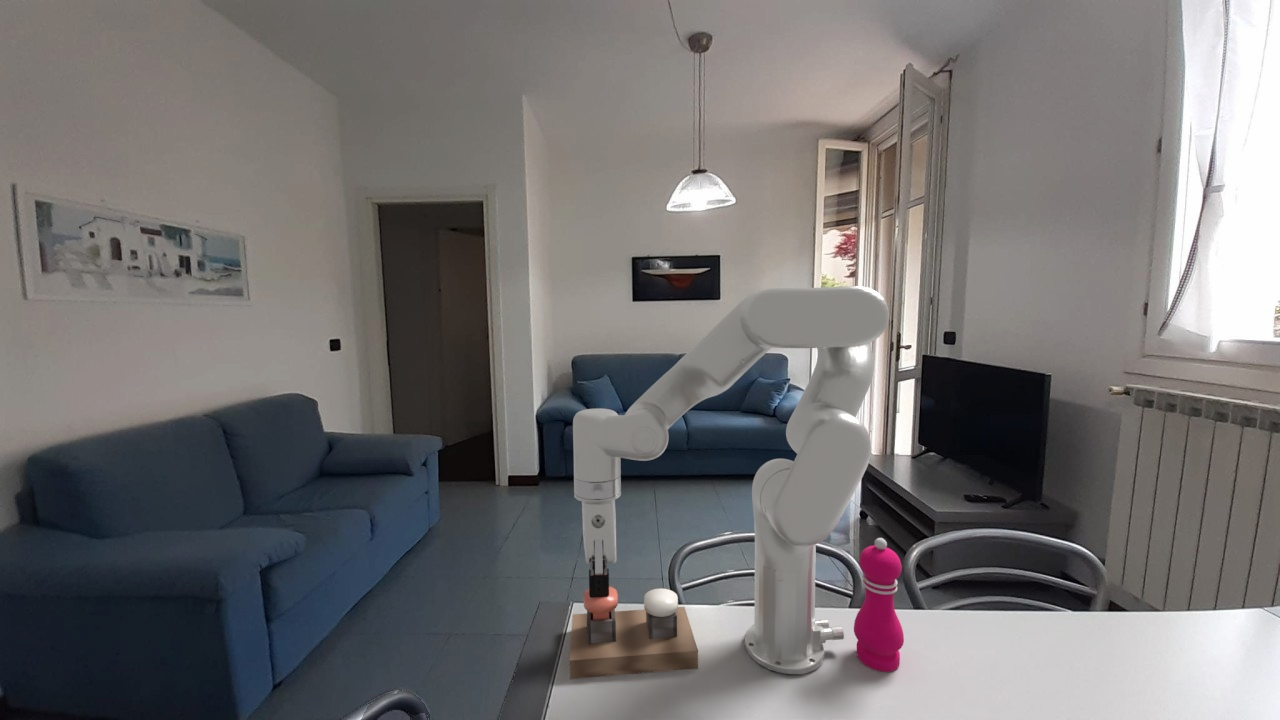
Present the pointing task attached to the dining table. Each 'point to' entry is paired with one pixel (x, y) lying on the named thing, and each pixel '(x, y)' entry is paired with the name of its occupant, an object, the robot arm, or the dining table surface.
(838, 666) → the dining table surface
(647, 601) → the cream button
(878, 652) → the pepper mill
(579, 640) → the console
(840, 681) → the dining table surface
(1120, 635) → the dining table surface
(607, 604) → the red button
